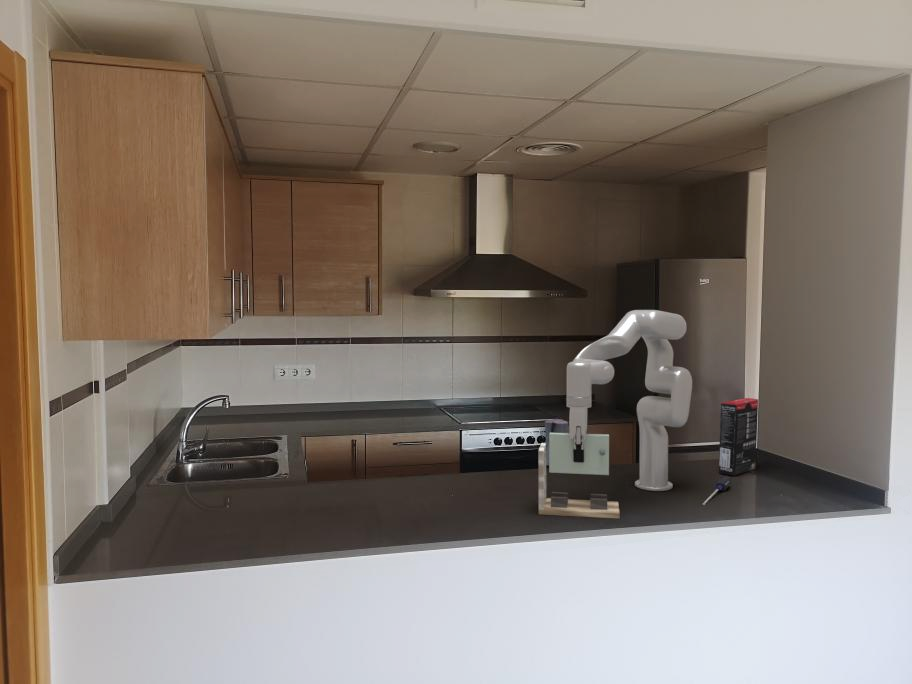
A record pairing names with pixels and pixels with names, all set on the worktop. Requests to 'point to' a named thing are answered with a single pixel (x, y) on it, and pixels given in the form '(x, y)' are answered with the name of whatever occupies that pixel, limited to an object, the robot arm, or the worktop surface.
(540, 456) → the hinge base
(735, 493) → the worktop surface
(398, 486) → the worktop surface
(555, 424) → the moka pot
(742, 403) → the graphics card box
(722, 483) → the screwdriver
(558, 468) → the door
